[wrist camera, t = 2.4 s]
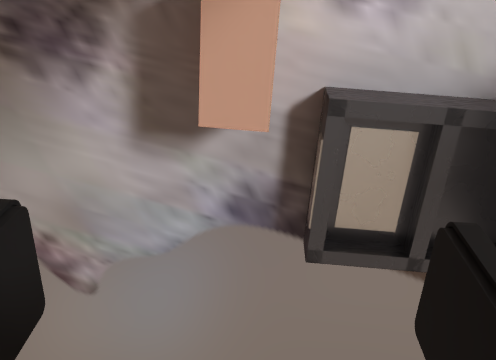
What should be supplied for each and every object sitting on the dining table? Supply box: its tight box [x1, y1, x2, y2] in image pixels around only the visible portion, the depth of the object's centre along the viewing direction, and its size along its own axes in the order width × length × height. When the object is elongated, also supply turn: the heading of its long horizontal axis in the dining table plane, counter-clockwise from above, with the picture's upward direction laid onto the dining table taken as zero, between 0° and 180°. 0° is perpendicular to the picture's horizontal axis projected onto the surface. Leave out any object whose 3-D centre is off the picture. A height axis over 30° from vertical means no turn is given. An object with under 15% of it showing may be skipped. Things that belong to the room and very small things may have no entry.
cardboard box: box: [198, 0, 281, 132], centre depth 25 cm, size 7×4×6 cm, turn 176°
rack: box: [304, 87, 496, 272], centre depth 25 cm, size 11×14×12 cm
